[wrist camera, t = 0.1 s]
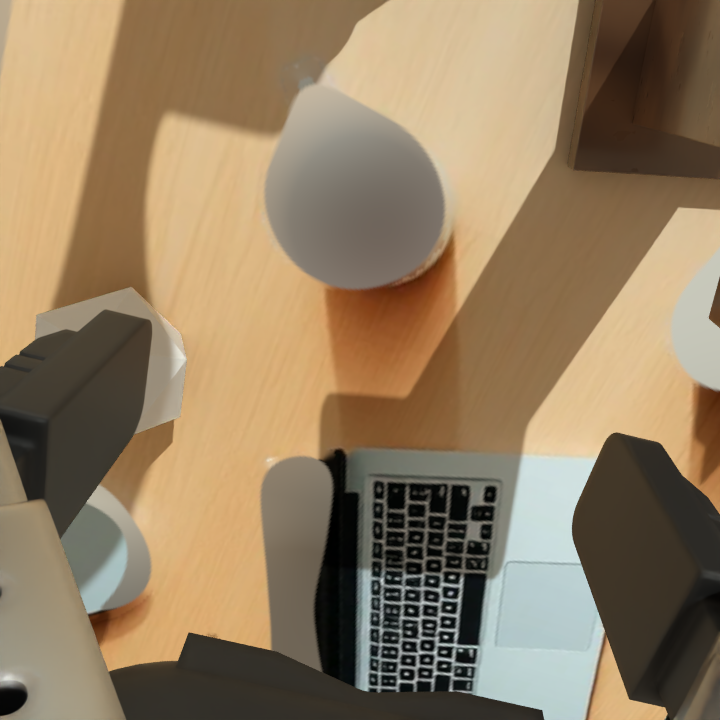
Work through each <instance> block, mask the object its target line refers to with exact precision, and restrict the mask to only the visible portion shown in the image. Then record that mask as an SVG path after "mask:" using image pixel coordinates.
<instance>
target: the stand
mask: <svg viewBox="0 0 720 720" xmlns="http://www.w3.org/2000/svg"><path fill="white" fill-rule="evenodd" d="M568 167H570V168H571V169H573V170H580V171H596V172H612V173H628V174H644V175H660V176H676V177H692V178H708V179H720V0H595V6H594V12H593V18H592V24H591V30H590V36H589V42H588V47H587V53H586V59H585V65H584V71H583V77H582V83H581V89H580V94H579V100H578V106H577V112H576V118H575V124H574V130H573V136H572V142H571V147H570V153H569V159H568ZM709 319H710V320H711V321H712V322H713V323H715V324H716V325H717V326H718V327H719V328H720V278H719V282H718V286H717V289H716V293H715V296H714V300H713V304H712V307H711V311H710V315H709Z"/></svg>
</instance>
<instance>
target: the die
mask: <svg viewBox="0 0 720 720" xmlns="http://www.w3.org/2000/svg"><path fill="white" fill-rule="evenodd" d="M105 309H107V310H111V311H115V312H119V313H124V314H128V315H132V316H136V317H140V318H144V319H149V320H150V321H151V323H152V341H151V349H150V357H149V366H148V374H147V382H146V391H145V399H144V406H143V410H142V414H141V418H140V421H139V424H138V426H137V429H136V431H135V433H134V434H137V433H140V432H142V431H145V430H147V429H150V428H153V427H155V426H158V425H161V424H163V423H166V422H168V421H171V420H174V419H176V418H179V417H180V414H181V405H182V397H183V388H184V380H185V371H186V363H187V358H186V353H185V349H184V345H183V341H182V336H181V333H179V332H178V331H177V330H176V329H175V328H174V327H173V326H172V325H171V324H170V323H169V322H168V321H167V320H166V319H165V318H164V317H163V316H162V315H161V314H160V313H159V312H157V311H156V310H155V309H154V308H153V307H152V306H151V305H150V304H149V303H148V302H147V301H146V300H145V299H144V298H143V297H142V296H141V295H140V294H139V293H138V292H136V291H135V290H134V289H133V288H132V287H129V288H125V289H122V290H119V291H115V292H112V293H108V294H105V295H102V296H98V297H95V298H92V299H88V300H85V301H82V302H78V303H75V304H71V305H68V306H65V307H61V308H58V309H55V310H51V311H48V312H45V313H41V314H38V315H36V333H35V340H36V339H37V338H39V337H42V336H46V335H49V334H52V333H55V332H58V331H61V330H65V329H68V330H72V331H76V332H78V331H79V330H80V329H81V328H82V327H84V326H85V325H86V324H87V323H88V322H90V321H91V320H92V319H93V318H94V317H96V316H97V315H98V314H99V313H100V312H101V311H103V310H105Z"/></svg>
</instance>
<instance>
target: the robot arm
mask: <svg viewBox="0 0 720 720" xmlns="http://www.w3.org/2000/svg"><path fill="white" fill-rule="evenodd" d="M151 341H152V323H151V321H150V320H149V319H144V318H140V317H136V316H132V315H128V314H124V313H119V312H115V311H111V310H107V309H105V310H103V311H101V312H100V313H99V314H98V315H97V316H96V317H94V318H93V319H92V320H91V321H90V322H88V323H87V324H86V325H85V326H84V327H82V328H81V329H80V330H79V331H78V332H76V331H72V330H68V329H65V330H61V331H58V332H55V333H52V334H49V335H46V336H42V337H39V338H37V339H36V340H35V341H33V342H32V343H31V344H29V345H28V346H27V347H25V348H24V349H23V350H22V351H20V354H19V355H15V356H14V357H12V358H11V359H10V360H9V361H7V362H6V363H5V366H4V367H2V366H1V367H0V720H544V717H543V712H542V710H539V709H534V708H530V707H525V706H521V705H516V704H511V703H507V702H502V701H498V700H493V699H489V698H484V697H480V696H475V695H471V694H466V693H462V692H457V691H454V692H383V693H375V692H367V691H362V690H360V689H357V688H355V687H353V686H350V685H348V684H346V683H344V682H342V681H340V680H337V679H335V678H333V677H331V676H329V675H326V674H324V673H322V672H320V671H318V670H316V669H313V668H311V667H309V666H307V665H305V664H302V663H300V662H298V661H296V660H294V659H292V658H289V657H287V656H285V655H283V654H281V653H278V652H275V651H271V650H266V649H262V648H257V647H253V646H248V645H244V644H239V643H235V642H230V641H226V640H221V639H216V638H212V637H207V636H203V635H198V634H194V633H188V636H187V639H186V641H185V644H184V647H183V649H182V652H181V655H180V657H179V660H178V661H162V662H154V663H145V664H138V665H133V666H129V667H124V668H120V669H116V670H112V671H109V672H108V669H107V666H106V663H105V661H104V658H103V655H102V653H101V650H100V647H99V644H98V642H97V639H96V636H95V633H94V631H93V628H92V625H91V623H90V620H89V617H88V614H87V612H86V609H85V606H84V603H83V601H82V598H81V595H80V592H79V590H78V587H77V584H76V582H75V579H74V576H73V573H72V571H71V568H70V565H69V562H68V560H67V557H66V554H65V552H64V549H63V546H62V543H61V541H60V538H61V537H62V535H63V534H64V533H65V531H66V530H67V528H68V527H69V526H70V524H71V523H72V521H73V520H74V519H75V517H76V516H77V514H78V513H79V511H80V510H81V509H82V507H83V506H84V504H85V503H86V502H87V500H88V499H89V497H90V496H91V495H92V493H93V492H94V490H95V489H96V488H97V486H98V485H99V483H100V482H101V481H102V479H103V478H104V476H105V475H106V474H107V472H108V471H109V469H110V468H111V467H112V465H113V464H114V462H115V461H116V460H117V458H118V457H119V455H120V454H121V453H122V451H123V450H124V448H125V447H126V445H127V444H128V443H129V441H130V440H131V438H132V437H133V435H134V433H135V431H136V429H137V426H138V424H139V421H140V418H141V414H142V410H143V406H144V399H145V391H146V382H147V374H148V366H149V357H150V349H151ZM572 536H573V541H574V544H575V547H576V550H577V553H578V556H579V558H580V561H581V564H582V567H583V570H584V573H585V575H586V578H587V581H588V584H589V587H590V589H591V592H592V595H593V598H594V601H595V604H596V606H597V609H598V612H599V615H600V618H601V621H602V623H603V626H604V629H605V632H606V635H607V638H608V640H609V643H610V646H611V649H612V652H613V655H614V657H615V660H616V663H617V666H618V669H619V672H620V674H621V677H622V680H623V683H624V686H625V688H626V691H627V694H628V697H629V699H630V700H634V701H639V702H643V703H648V704H652V705H657V706H661V707H665V708H666V711H667V713H668V715H667V716H666V718H665V719H664V720H720V514H719V513H718V511H717V510H716V508H715V507H714V506H713V504H712V503H711V501H710V500H709V498H708V497H707V496H706V495H704V494H703V493H702V492H701V491H700V490H699V489H697V488H696V487H695V486H694V485H693V484H692V483H690V482H689V481H688V480H687V479H686V478H685V477H683V476H682V475H681V473H680V472H679V470H678V469H677V467H676V466H675V464H674V463H673V461H672V460H671V458H670V457H669V455H668V454H667V452H666V451H665V449H664V448H663V446H662V445H661V444H660V443H658V442H654V441H650V440H646V439H642V438H637V437H633V436H629V435H625V434H621V433H613V434H611V435H610V436H609V437H608V438H607V440H606V441H605V443H604V445H603V447H602V449H601V451H600V454H599V456H598V458H597V460H596V463H595V465H594V467H593V469H592V472H591V474H590V476H589V478H588V480H587V483H586V485H585V487H584V489H583V492H582V494H581V496H580V498H579V501H578V503H577V505H576V508H575V511H574V516H573V522H572Z"/></svg>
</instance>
